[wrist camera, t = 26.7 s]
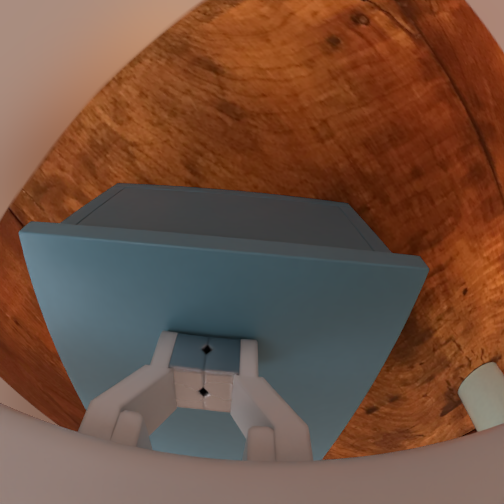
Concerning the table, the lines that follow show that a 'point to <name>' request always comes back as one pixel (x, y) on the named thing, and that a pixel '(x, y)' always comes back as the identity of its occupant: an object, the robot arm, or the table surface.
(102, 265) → the lid
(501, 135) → the table surface
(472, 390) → the jar
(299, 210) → the chest
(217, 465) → the robot arm
